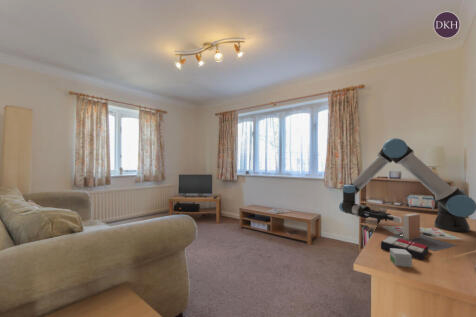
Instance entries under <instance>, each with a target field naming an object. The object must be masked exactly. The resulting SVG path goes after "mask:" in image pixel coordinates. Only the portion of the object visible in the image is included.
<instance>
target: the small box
mask: <svg viewBox="0 0 476 317" xmlns="http://www.w3.org/2000/svg"><path fill="white" fill-rule="evenodd" d="M389 260H390V261H391V262H392V263H393V265H394V266H396V267H403V268H404V267H405V268H413V257H412V255H411V254H410V253H409V252H407V251H406V250H405V249H395V248H390V251H389Z"/></svg>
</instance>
